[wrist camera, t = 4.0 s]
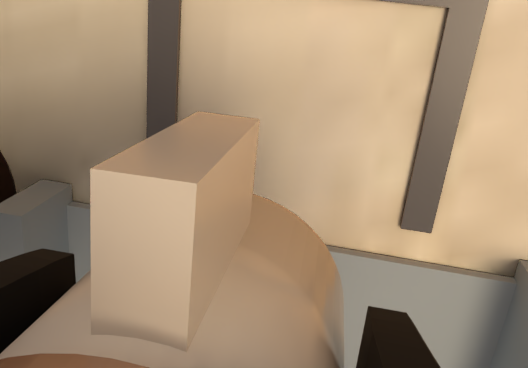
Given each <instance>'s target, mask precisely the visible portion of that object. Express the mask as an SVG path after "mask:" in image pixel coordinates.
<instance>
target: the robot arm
mask: <svg viewBox="0 0 528 368" xmlns="http://www.w3.org/2000/svg"><path fill="white" fill-rule="evenodd" d="M75 284H76V276H75V258H74V254H72V253H67V252H61V251H55V250H50V249H44V248H42V249H38V250H34V251H30V252H27V253H24V254H21V255H18V256H15V257H12V258H9V259H6V260H3V261H0V354H1V353H2V352H3V351H4V350H5V349H6V348H7V347H8V346H9V345H10V344H11V343H12V342H14V341H15V340H16V339H17V338H18V337H19V336H20V335H21V334H22V333H23V332H24V331H25V330H26V329H27V328H29V327H30V326H31V325H32V324H33V323H34V322H35V321H36V320H37V319H38V318H39V317H40V316H41V315H42V314H44V313H45V312H46V311H47V310H48V309H49V308H50V307H51V306H52V305H53V304H54V303H55V302H56V301H57V300H59V299H60V298H61V297H62V296H63V295H64V294H65V293H66V292H67V291H68V290H69V289H70V288H71V287H72V286H74V285H75ZM356 368H441V367H440V366H439V364H438V362H437V361H436V359H435V358H434V356H433V354H432V353H431V351H430V350H429V348H428V346H427V345H426V343H425V341H424V340H423V338H422V336H421V335H420V333H419V331H418V330H417V328H416V326H415V325H414V323H413V321H412V320H411V318H410V317H409V315H408V314H407V313H406V312H400V311H395V310H389V309H383V308H378V307H372V306H368V309H367V314H366V319H365V324H364V329H363V334H362V339H361V344H360V349H359V354H358V359H357V364H356Z"/></svg>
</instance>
